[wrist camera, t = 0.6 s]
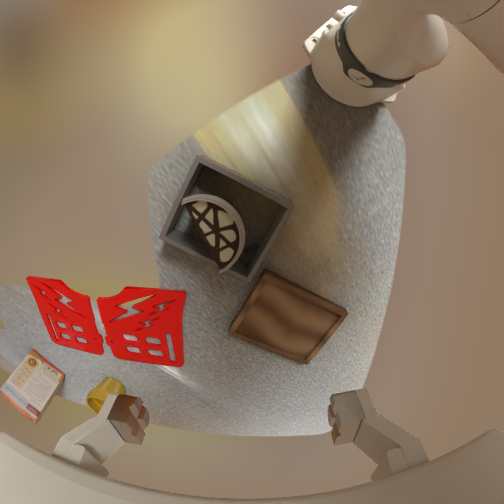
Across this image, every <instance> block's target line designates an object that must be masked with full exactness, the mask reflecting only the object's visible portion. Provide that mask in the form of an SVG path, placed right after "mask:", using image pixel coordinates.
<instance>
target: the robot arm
mask: <svg viewBox="0 0 504 504" xmlns="http://www.w3.org/2000/svg"><path fill="white" fill-rule="evenodd" d="M442 18H443V19H444V20H445V21H447V22H449V23H450V24H452V25H453V26H454V27H455V28H456V29H457V30H458V31H460V32H461V33H462V34H463V35H464V36H465V37H466V38H467V39H468V40H469V41H470V42H472V43H473V44H474V45H475V46H476V47H477V48H478V49H479V50H480V51H481V52H482V53H483V54H484V55H485V57H486V58H487V59H488V60H489V61H490V62H491V63H492V64H493V65H494V66H495V67H496V68H497V69H498V70H499V71H500V72H501V73H502V74H503V75H504V0H361V2H360V4H359V6H358V7H355V6H346V7H345V8H343V9H342V10H338V11H337V12H336V13H335V14H334V15H333V17H332V18H331V19H330V20H328V21H327V22H326V23H325V24H324V25H322V26H321V27H320V28H319V29H318V30H317V31H315V32H314V33H313V34H312V35H311V36H310V37H309V38H308V39H307V40H306V41H305V42H304V43H303V47H304V49H305V51H306V53H307V54H308V55H309V57H310V60H311V66H312V71H313V74H314V77H315V79H316V81H317V82H318V84H319V85H320V87H321V88H322V89H323V90H324V91H325V92H326V93H327V94H328V95H329V96H330V97H332V98H333V99H335V100H337V101H338V102H341V103H343V104H346V105H349V106H355V107H363V106H368V105H371V104H374V103H377V102H383V103H391V102H393V101H394V100H395V99H396V95H397V93H398V92H400V91H401V90H403V89H404V88H405V83H406V82H408V81H409V80H410V79H412V78H413V77H414V76H415V75H416V74H418V73H420V72H423V71H425V70H428V69H430V68H433V67H435V66H437V65H439V64H440V63H441V62H442V60H443V59H444V58H445V56H446V54H447V50H448V35H447V32H446V28H445V25H444V22H443V20H442ZM313 40H314V41H316V43H314V42H313ZM330 402H331V404H330V405H329V406H328V421H329V425H330V426H331V427H332V428H333V429H332V433H331V434H332V438H333V442H334V445H338V444H344V443H350V442H353V443H354V444H355V445H356V446H357V447H358V448H360V449H361V450H362V451H363V452H364V453H365V454H366V455H367V456H369V457H370V458H371V459H372V460H373V461H374V462H376V463H377V464H378V466H377V468H376V469H375V470H374V472H373V473H372V475H371V476H370V477H371V480H372V482H368V483H365V484H361V485H357V486H352V487H348V488H343V489H339V490H333V491H328V492H322V493H316V494H309V495H302V496H291V497H279V498H258V499H235V498H213V497H200V496H192V495H184V494H177V493H170V492H165V491H159V490H154V489H149V488H144V487H140V486H136V485H132V484H128V483H124V482H121V481H117V480H114V479H110V478H107V477H108V474H109V472H108V470H107V469H106V468H104V467H103V466H102V465H101V464H102V463H104V462H105V461H106V460H107V459H108V458H109V457H110V456H111V455H113V454H114V453H115V452H116V451H117V450H118V449H119V448H120V447H121V446H123V445H124V444H125V442H128V443H134V444H140V445H141V444H142V441H143V438H144V435H145V433H144V431H143V429H145V428H146V427H147V426H148V423H149V413H148V410H147V408H145V407H144V406H143V405H142V404H143V401H142V399H141V398H140V397H134V396H128V395H122V394H117V393H110V394H108V396H107V398H106V400H105V402H104V404H103V406H102V408H101V410H100V412H99V414H98V416H97V417H95V416H94V417H93V418H91V419H90V420H88V421H86V422H85V423H83V424H82V425H80V426H78V427H77V428H75V429H74V430H72V431H70V432H69V433H67V434H65V435H64V436H62V437H61V438H60V440H59V442H58V444H57V446H56V448H55V450H54V452H53V454H52V456H51V455H49V454H47V453H45V452H43V451H41V450H39V449H37V448H35V447H33V446H31V445H29V444H27V443H26V442H24V441H22V440H20V439H19V438H17V437H15V436H14V435H12V434H11V433H9V432H7V431H0V504H504V432H502V431H499V430H496V429H490V430H488V431H486V432H485V433H483V434H481V435H480V436H478V437H477V438H475V439H473V440H471V441H469V442H468V443H466V444H464V445H462V446H460V447H458V448H456V449H454V450H452V451H450V452H448V453H446V454H444V455H442V456H440V457H438V458H436V459H433V460H431V461H429V459H428V457H427V455H426V452H425V450H424V448H423V446H422V443H421V441H420V439H419V438H417V437H415V436H413V435H412V434H410V433H409V432H407V431H405V430H404V429H402V428H401V427H399V426H397V425H396V424H394V423H393V422H391V421H389V420H388V419H386V418H385V417H383V416H382V415H379V416H378V415H377V412H376V410H375V408H374V405H373V403H372V400H371V398H370V395H369V393H368V391H367V389H365V388H364V389H359V390H352V391H347V392H342V393H336V394H332V395H331V396H330Z"/></svg>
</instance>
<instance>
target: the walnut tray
mask: <svg viewBox="0 0 504 504" xmlns="http://www.w3.org/2000/svg"><path fill="white" fill-rule="evenodd" d="M347 315H348V312H347V310H346V309H345V308H343V307H341V306H338V305H336V304H334V303H332V302H330V301H328V300H326V299H324V298H322V297H320V296H318V295H316V294H314V293H312V292H310V291H308V290H306V289H304V288H302V287H300V286H298V285H296V284H294V283H292V282H290V281H288V280H286V279H284V278H282V277H280V276H278V275H276V274H274V273H272V272H270V271H268V270H266V269H265V270H264V272H263V273H262V275H261V277H260V278H259V280H258V281H257V283H256V285H255V286H254V288H253V290H252V291H251V293H250V294H249V296H248V298H247V299H246V301H245V303H244V304H243V306H242V307H241V309H240V311H239V312H238V314H237V315H236V317H235V319H234V320H233V322H232V323H231V325H230V327H229V329H228V334H230V335H233V336H235V337H237V338H240V339H242V340H244V341H247V342H249V343H252V344H254V345H256V346H259V347H261V348H264V349H266V350H269V351H271V352H274V353H276V354H279V355H282V356H284V357H287V358H290V359H292V360H295V361H298V362H300V363H303V364H306V365H307V364H308V363H309V362H310V360H311V359H312V358H313V357H314V356H315V355H316V353H317V352H318V351H319V350H320V349H321V348H322V346H323V345H324V344H325V343H326V342H327V340H328V339H329V338H330V337H331V335H332V334H333V333H334V332H335V330H336V329H337V328H338V327H339V325H340V324H341V323H342V322H343V320H344V319H345V318H346V316H347Z"/></svg>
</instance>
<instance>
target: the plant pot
mask: <svg viewBox="0 0 504 504" xmlns="http://www.w3.org/2000/svg"><path fill="white" fill-rule="evenodd" d="M110 393H117V394H122V395H124V394H125V388H124V386H123V384H122V383H121V382H119V381H118V380H116V379H114V378H111V377H107V378H105V379H104V380H103V381H102V382H101V383H100V384H99V385H98V386H97V387H96V388H95V389H92V390H91V391H90V393H89V394H88V396H87V398H86V403H87V405H88V406H89V408H90V409H91V410H92V411H94V412H95V413H96V414H97V415H98V414H99V412H100V410H101V408H102V406H103V404H104V402H105V400H106V398H107V396H108V394H110Z"/></svg>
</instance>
